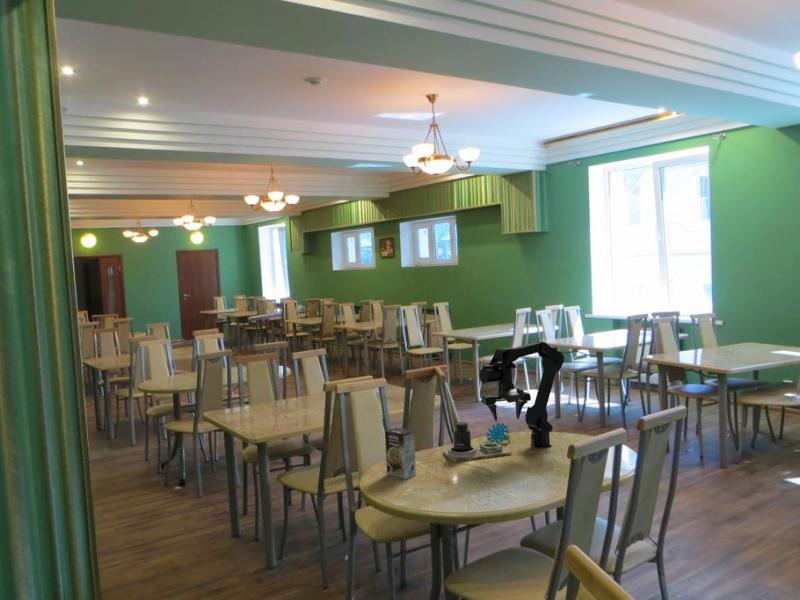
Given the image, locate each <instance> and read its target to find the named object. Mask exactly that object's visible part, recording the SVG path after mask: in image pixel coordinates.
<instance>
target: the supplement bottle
mask: <svg viewBox="0 0 800 600" xmlns="http://www.w3.org/2000/svg"><path fill="white" fill-rule="evenodd" d="M468 424H469V423H468V422H464V421H458V422H455V426H454V427H455V429H454V431H453V432H452V435H453V436H452V438H453V439H452V440H453V441H452V443H453V446H454V451H455V452H468V451H471V446H472V441H471V440H472V437H471V436H472V435H471V431H470V430H469V429H468V428H469V425H468ZM453 446H452V447H453Z"/></svg>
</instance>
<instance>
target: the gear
mask: <svg viewBox="0 0 800 600" xmlns="http://www.w3.org/2000/svg"><path fill="white" fill-rule="evenodd" d="M491 427H492V428H488V429H487V431H488V432H487V433H486V434H485V436H486V437H487V438H486V440H487V441H489V443H495V442H496V443H497V444H499V441H500V443H501V442H504V441H508V443H512V442H511V440H510V438H511V436H510V434H508V433H509V431H510V430H509V428H508V425H506V424H505V423H504V422H501V423H500V422H496V425H495V424H492V425H491Z"/></svg>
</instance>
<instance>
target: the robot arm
mask: <svg viewBox="0 0 800 600" xmlns="http://www.w3.org/2000/svg"><path fill="white" fill-rule="evenodd" d="M494 351H495V352H494V353H493V356H492V357H491V359H490V362H489V363H488V365H482V367H481V369H480V371H479V375H478V376H479V377H478V378H479V380H480V382H481V383H482V384H483V385H484V384H485V385H486V384H490V383H496V385H497V391H498V392H496V395H497V396H494V395H492V394H486V395H482V396H481V398H480V402H481V404H483V405H485V406H487V407H488V409H489V412H490V413H491V415H492V417H493V419H494V422H496V423H498V422H497V421H498V415H497V406H498V405H497V404H496V403H497V402H507V403H509V404H512V403H514V404H515V415H516V419H517V420H519V419H520V416H521V413H522V410H523V407H524V406H525V404H528V403H529V402H530V401H532V400H531V399H532V397H531V394H530V393H529V392H526V391H525V390H524V389H523V388H522V387H519V388H516V386H515V383H514V382H513V369H517V365H516V364H514V362H516V361H517V360H518V359H520V358H522V357H526V356H529V355H533V354H538V356H539V357H540V358H541V360H542V361H541V364H542V369H543V370H542V375H541V378H540V382H539V386H538V389H537V393H536V397H535V401H534V402H533V403H534V404H533V405H532V406H531V407H530V406H527V409H526V412H525V415H524V417H525V424H526V425H527V427H528V430H531V434H530V445H531V446H532V447H534V448H537V449H540V448H541V449H543V448H549V447H553V445H552V444H550V433H551V432H552V431H553V427H554V426H553V425H552V424H551V422H549V421H548V417H549V414H548V410H547V406H548V404H549V403H548V402H549V399H550V395H551V391H552V388H553V386H554V385H553V384H554V381H555V377H556V374H557V373H558V372H559V370H561V369H562V367H563V364H564V362H565V356H564V354H563V352H561V351H558V350H557V349H556V348H554V347H552V346H551V345H549V344H548V343H547V342H546V341H541V340H537V341H534V342H532V343H527V344H524V345H520V346H515V347H498V348H496V349H495V350H494Z"/></svg>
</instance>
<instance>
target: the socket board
mask: <svg viewBox="0 0 800 600" xmlns="http://www.w3.org/2000/svg"><path fill="white" fill-rule="evenodd" d="M443 454H444V455H445V456H444V455H443ZM511 454H512V451H510V450H508V449H507V448H506V447H504V446H502V445H500V444H499V443H498V444H497V443H496V442H495V441H494V442H493V443H491V442H487V443H480V444H479V447H475V446H473V445H471V451H468V452H455V451H454V446H450V447H448V449H447V451H442V455H443V456H444V457H445V458H447V459H448V458H449V459H450V461H451V462H452V463H457V462H456V461H460V462H464V461H463V460H468V461H471V460H470V459H476V460H480V459H479V458H484V459H489V458H488V457H491V458H496V457H495V456H499V457H504V456H503V455H507V456H512V455H511ZM449 459H448V460H449Z"/></svg>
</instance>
